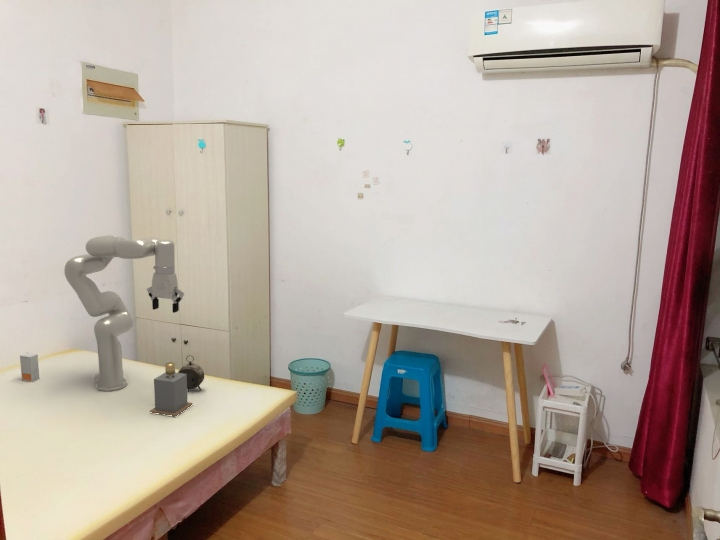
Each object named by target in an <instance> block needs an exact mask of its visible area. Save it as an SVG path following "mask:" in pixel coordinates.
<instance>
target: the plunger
mask: <svg viewBox="0 0 720 540" xmlns="http://www.w3.org/2000/svg"><path fill="white" fill-rule="evenodd" d="M175 366H176V363H175V362H173V361H169V362H166V363H165V369H164V370H165V372H166V375H169V378H172V375H173V374H175V372H176V367H175Z"/></svg>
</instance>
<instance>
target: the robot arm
mask: <svg viewBox="0 0 720 540" xmlns="http://www.w3.org/2000/svg"><path fill="white" fill-rule="evenodd" d="M85 251H86V252H87V253H85V254H82V255H78V256H73V257H72V258H70V259H68V260H67V262H66V263H65V265H64V276H65V279H66V281H67V282H68V284H69V285H70V286H71V288H72V289H73V290H74V292H75V293H76V295H77V297H78V299H79V300H80V303H81V304H82V306H83V307H84V309H85V311H86V312H87V314H88V316H90V317H93V318H98V317H102V316H104V317H102V318H100V319H99V320H97V321H96V322H95V324H94V325H93V331H94V336H95V339H96V345H97V357H98V359H97V361H98V373H99V374H98V373H95V374H94V376H93V379H92V380H93V381H97V383H96V385H95V386H96V387H95V388H96V390H99V391H100V392H101V391H102V392H113V391H117V390H121V389H123V388H125V387H127V385H128V381H127V379H124V368H123V367H124V366H123V351H122V343H121V341H119V338H118V337H119V336H120V335H122V334H123V335H124V334H125V333H128V332H129V331H130V330H131V329H132V328H133V325H134V321H133V318H132V316H131V313H130V312H129V310H128V308H127V307H126V305H125V303H124V301H123V300H122V298H121V296H120V295H119V294H118V293H116V292H114V291H110V290H108V291H107V290H106V291H103V292H101V290H100V289H99V288H98V286H97V284H96V283H95V282H94V281H93V280H92V278H90V277H88V276H87V275H89V274H90V275H91V274H95V273H98V272H102V271H103V270H105V269H106V268H107V267H108V265H109V264H110V263H111V261H112V260H113V259H114V258H119V259H125V260H126V259H127V260H128V259H129V260H130V259H133V260H134V259H137V260H139V259H140V260H141V259H144V258H147V257H152V256H154V266H153V270H154V271H155V272H153V274H152V278H151V279H152V280H151V286H150V287H147V288H146V291H147V293H148V296H149V297H150V300H151V302H152V305H151V306H152V310H153V311H154V310H158V309H159V308H160V307H159V306H160V303H159V302H160V301H159V300H160V299H166V300H168V299H169V300H170V299H171V301H172V305H171V306H172V313H173V314H175V313H177V312H179V310H180V304H179V303H180V302H181V301H182V300H183V297H184V296H185V293H184V292H183V291H182V290H181V289H179V285H178V284H179V283H178V277H177V273H176V271H175V269H176V267H175V264H176V263H175V242H174V241H173V240H170V239H162V238H161V239H160V238H158V237H155V236H154V237H146V238H141V239H140V238H139V239H133V240H132V239H131V240H126V239H125V238H124V237H122V236H114V235H111V234H110V235H109V234H108V235H101V236H95V237H93V238H90V239H88V241H86V243H85ZM159 298H160V299H159ZM107 314H108V315H107ZM105 315H107V316H105Z"/></svg>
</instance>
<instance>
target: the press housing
mask: <svg viewBox="0 0 720 540" xmlns="http://www.w3.org/2000/svg"><path fill="white" fill-rule="evenodd" d="M153 385H154V386H153V389H154V391H153V393H154V407H153V408H151V409H150V410H149V413H150V412H152V413H159V414H165V415H172V416H177V415H178V414H180V413H181V412H183V411H184V410H186V409H187V408H188V407H190V406H191V405H192V404H193V405H194V403H193V402H188V389H187V374H183V373H178V372H176V371H175V374H173V375H172V378H169V375H166V371H165V372H163V373H162V374H160V375H158V376H156V377H155V378H153ZM193 405H192V406H193ZM192 406H191V407H192ZM191 407H190V408H191ZM188 409H189V408H188ZM188 409H187V410H188ZM187 410H186V411H187ZM184 412H185V411H184ZM184 412H183V413H184ZM152 413H151V414H152ZM180 415H181V414H180Z"/></svg>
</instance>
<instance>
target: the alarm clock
mask: <svg viewBox="0 0 720 540" xmlns="http://www.w3.org/2000/svg"><path fill="white" fill-rule="evenodd" d="M189 357H192V360H191V361H189V360H188V358H189ZM185 359H186V361H187V363H184V364H183V366H181V368H179V370H178V372H177V373H183V374H187V393H190V391H191V390H194V389H197V388H198V389H199V390H200V391H202V388H201V386H200V385H201V384H202V383H203V382H204V381H205V372H204V369H203V367H201V366H200V365H199V364H197V363H194V360H195V358H194V356H193V355H192V354H189V355H187V356H186V358H185Z"/></svg>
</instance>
